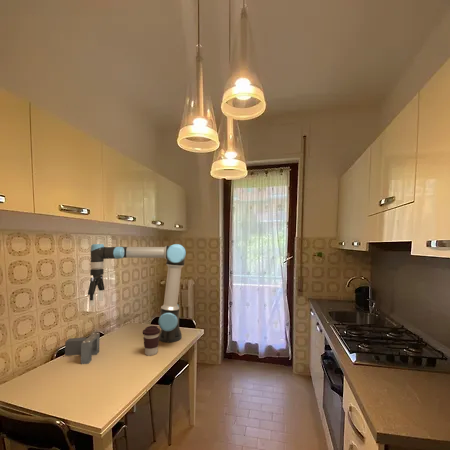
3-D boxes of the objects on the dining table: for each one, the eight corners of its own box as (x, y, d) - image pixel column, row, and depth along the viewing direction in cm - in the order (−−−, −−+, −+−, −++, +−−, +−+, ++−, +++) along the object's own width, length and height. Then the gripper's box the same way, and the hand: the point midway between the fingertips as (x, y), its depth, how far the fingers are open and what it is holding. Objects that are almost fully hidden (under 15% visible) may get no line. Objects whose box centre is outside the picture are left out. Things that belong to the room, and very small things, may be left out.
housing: (99, 351, 157) (99, 332, 158) (88, 363, 141) (88, 342, 142) (92, 352, 157) (92, 332, 157) (80, 364, 141) (81, 342, 142)
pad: (83, 351, 158) (83, 350, 158) (79, 355, 152) (79, 355, 152) (68, 352, 157) (68, 351, 157) (63, 356, 151) (63, 356, 151)
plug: (91, 350, 158) (92, 337, 158) (88, 354, 153) (88, 340, 153) (69, 352, 156) (69, 338, 157) (64, 355, 151) (65, 341, 152)
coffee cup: (163, 351, 157) (163, 325, 158) (153, 357, 147) (153, 330, 149) (149, 349, 160) (149, 324, 161) (139, 355, 151) (139, 329, 152)
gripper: (98, 267, 174) (97, 299, 173) (82, 270, 150) (81, 308, 148) (109, 266, 175) (109, 298, 174) (95, 270, 150) (94, 307, 149)
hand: (96, 303), depth 161 cm, fingers open, 13 cm apart
